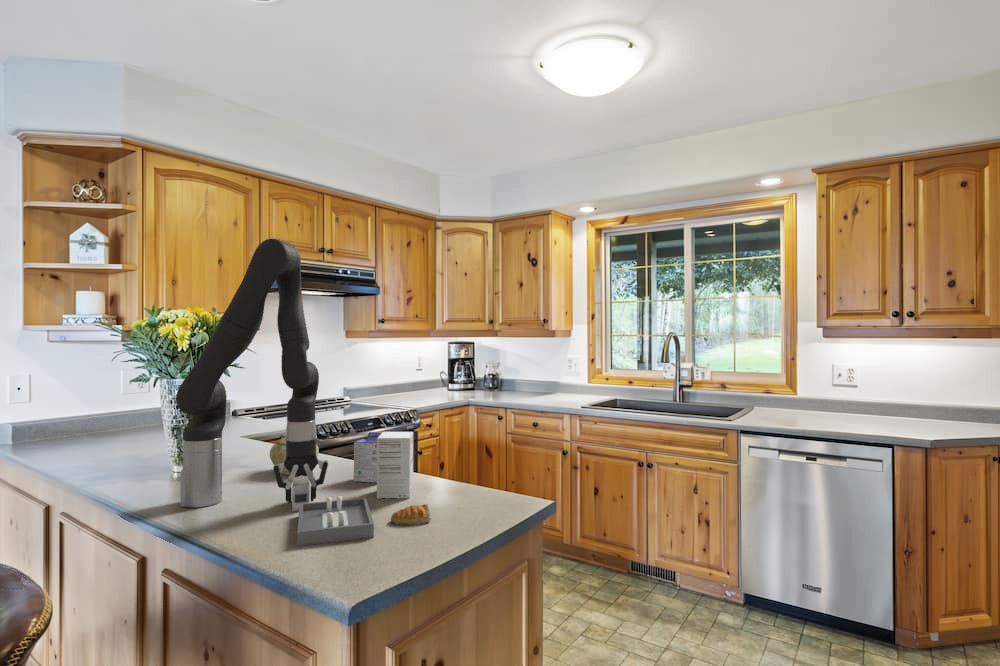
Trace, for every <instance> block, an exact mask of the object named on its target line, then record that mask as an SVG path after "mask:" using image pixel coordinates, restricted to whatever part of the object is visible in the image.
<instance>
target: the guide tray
mask: <svg viewBox="0 0 1000 666" xmlns="http://www.w3.org/2000/svg"><path fill="white" fill-rule="evenodd" d="M332 499H333V498H332V497H331V496H328V497H326V501H316V502H314V501H312V502H309V503H303V504H300V510H298V511H299V512H298V519H297V520H298V521H297V528H296V529H297V532H296V535H297V536H296V538H297V539H296V547H302V546H310V545H319V544H320V543H321V544H328V543H329V542H330V543H336V542H345V541H346V542H347V541H354V540H355V541H356V540H362V539H361V538H364V539H369V538H368V537H372V538H374V535H375V533H374V529H375V528H374V527H375V526H374V525H375V524H374V520H373V516H372V513H371V510H370V506H369V503H368V500H367V497H360V498H359V497H358V498H348V499H343V496H341V495H340V496H337V497H336V499H335V500H332Z"/></svg>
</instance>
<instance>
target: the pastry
mask: <svg viewBox="0 0 1000 666" xmlns="http://www.w3.org/2000/svg"><path fill="white" fill-rule="evenodd" d="M431 519H432V517H431V512H430V507H429V505H428V504H427V503H426V504H425V503H424V504H413V505H412V504H411V505H410V506H407V507H405V508H403V509H399V510H397V511H395V512H393V513H392V514H391V517H390V521H391V522H392V523H393V524H395V525H398V524H400V525H404V524H412V525H416V524H415V523H423V522H429V521H430V522H431ZM430 522H429V523H430ZM423 524H424V523H423Z"/></svg>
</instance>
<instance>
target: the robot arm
mask: <svg viewBox="0 0 1000 666" xmlns="http://www.w3.org/2000/svg"><path fill="white" fill-rule="evenodd" d="M301 262H302V261H301V255H300V252H299V250H298V248H296V246H294V245H293V244H291V243H289V242H287V241H284V240H280V239H277V238H267V239H264V240H263V241H261V242H260V243H259V244H258V245H257V247H256V248H255V250H254V252H253V255H252V257H251V259H250V262H249V264H248V267H247V269H246V271H245V274H244V276H243V278H242V280H241V282H240V284H239V286H238V288H237V290H236V291H235V293H234V295H233V296H232V299H231V300H230V303H229V304H228V306H227V308H226V309H225V310H224V312H223V314H222V316H221V317H220V320H219V321H218V323H217V325H216V327H215V329H214V332H213V333H212V335H211V337H210V339H209V340H208V341H207V343H206V344H205V345H206V346H205V348H204V349H203V351H202V353H201V354H200V356H199V358H198V360H197V361H196V362H195V364H194V366H193V367H192V368H191V370H190V371H189V372H188V374H187V375H186V377H185V378H184V379H183V380H182V382H181V384H180V385H179V387H178V389H177V392H176V397H175V402H176V405H177V408H178V410H179V411H180V412H182V413H184V414H185V415H190V416H191V415H192V416H191V420H190V421H189V423H188V424H187V425H186V426H185V427H184V429H183V430H182V468H181V470H180V508H185V507H186V508H202V507H209V506H214V505H216V504H218V503H220V502H221V501H223V430H224V427H225V424H226V419H227V391H226V387H225V385H224V384H223V382H222V381H221V380H220V379H221V378H222V376H223V374H224V373H225V371H226V370H227V369H228V368H229V367H230V366H231V365H232V364H233V363H234V362H235V361H236V360H237V359H238V358H239V357H241V355H242V354H243V353H244V352H245V351H246V350H247V349H248V347H249V346H250V345H251V343H252V342H253V340H254V338H255V337H256V334H257V333H258V331H259V329H260V328H261V324H262V322H263V319H264V318H263V317H264V312H265V305H266V300H267V296H268V294H269V292H270V290H271V288H272V286H273V285H274V283H275V282H276V284H277V289H278V290H277V291H278V307H277V308H278V309H277V317H276V319H277V320H276V321H277V331H278V336H279V342H280V346H281V374H282V375H281V376H282V379H283V381H284V383H285V385H286V386H287V387H288V388H290V389H292V393H291V394H292V395H291V398H290V399H289V400H288V402H287V405H286V411H287V412H286V426H285V427H286V429H285V436H286V460H285V461H284V463H280V464H275V465H274V464H273V472H274V475H275V479H276V484H277V486H278V488H280V489H281V488H282V489H284V490H285V502H288V504H292V487H291V486H292V485H293V480H294V477H299V476H308V478H309V484H310V502H314V500H315V499H317V487H318V486H320V485H323V484H324V481H325V477H326V474H327V470H328V466H329V461H328V460H321V459H320V460H319V458H318V456H317V457H316V444H317V424H316V399H317V394H318V389H319V382H320V376H319V375H320V374H319V370H318V368H317V366H316V365H315V364H314V363H313V362H310V361H308V356H307V355H308V354H307V352H308V350H309V348H310V339H309V333H308V328H307V323H306V322H307V321H306V317H305V312H304V303H303V293H302V291H303V290H302V265H301ZM317 465H318V466H319V469H320V474H319V477H318V479H316V478H315V474H314V472H313V471H314V469H315V468H316V467H317ZM283 467H286V469H287V470H288V471H289V472H290V475H288V479H287V481H284V479H283V474H281V472H282V471H283Z"/></svg>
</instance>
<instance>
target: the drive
mask: <svg viewBox="0 0 1000 666" xmlns="http://www.w3.org/2000/svg"><path fill="white" fill-rule="evenodd" d="M291 486H292V502H291V506H292V509H291V512H296V510H298V511H299V510H300V504H303V503H310V480H309V478H308V476H299V477H294V480H293V482H292V485H291Z"/></svg>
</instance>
